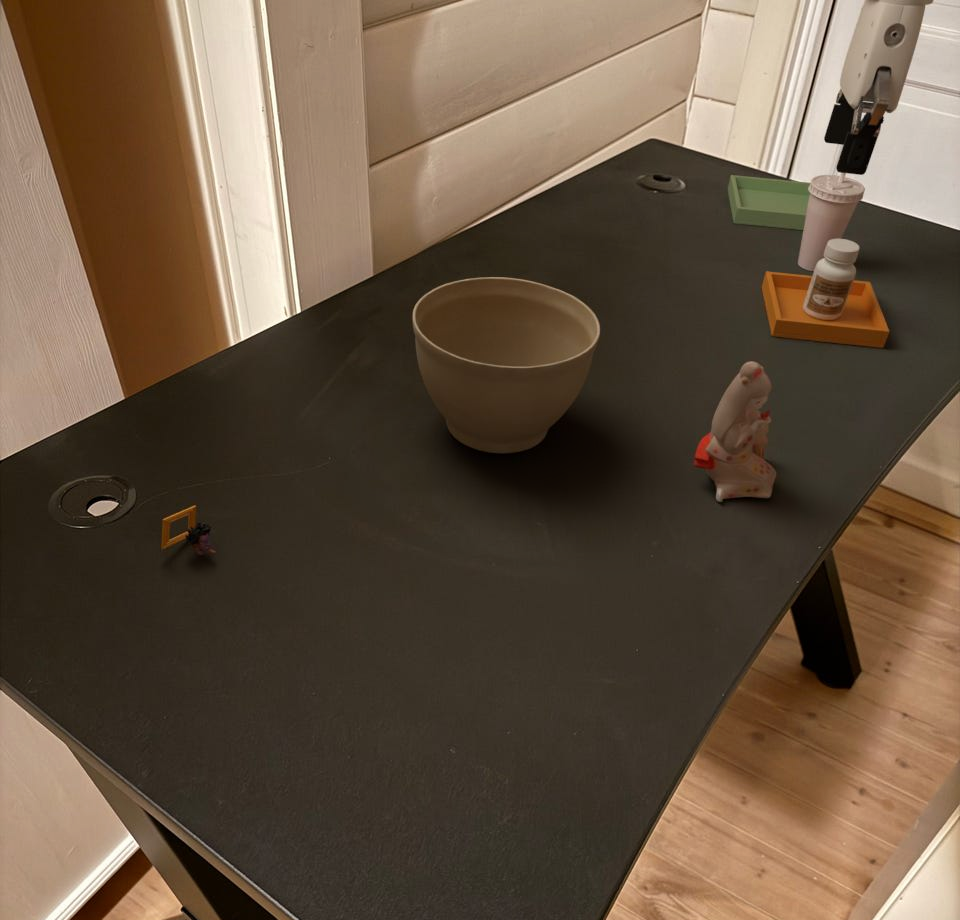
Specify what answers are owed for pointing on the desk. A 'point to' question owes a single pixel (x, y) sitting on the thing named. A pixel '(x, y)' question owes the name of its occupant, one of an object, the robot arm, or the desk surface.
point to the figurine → (739, 439)
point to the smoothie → (827, 215)
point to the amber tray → (791, 321)
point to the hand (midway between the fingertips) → (843, 157)
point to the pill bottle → (832, 280)
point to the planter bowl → (503, 358)
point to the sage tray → (768, 202)
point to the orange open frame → (188, 532)
